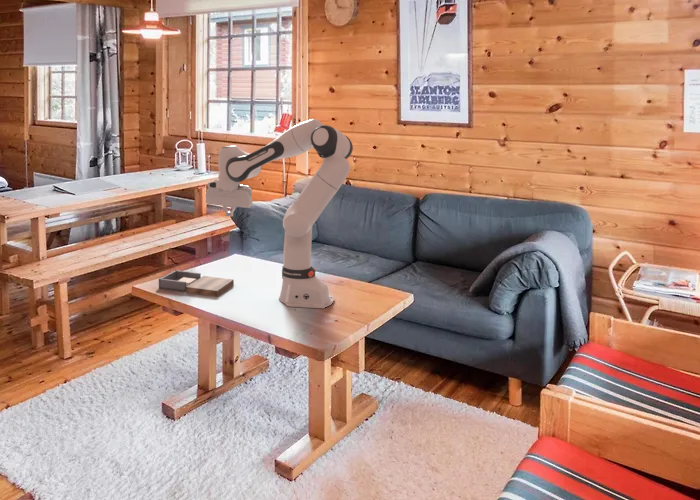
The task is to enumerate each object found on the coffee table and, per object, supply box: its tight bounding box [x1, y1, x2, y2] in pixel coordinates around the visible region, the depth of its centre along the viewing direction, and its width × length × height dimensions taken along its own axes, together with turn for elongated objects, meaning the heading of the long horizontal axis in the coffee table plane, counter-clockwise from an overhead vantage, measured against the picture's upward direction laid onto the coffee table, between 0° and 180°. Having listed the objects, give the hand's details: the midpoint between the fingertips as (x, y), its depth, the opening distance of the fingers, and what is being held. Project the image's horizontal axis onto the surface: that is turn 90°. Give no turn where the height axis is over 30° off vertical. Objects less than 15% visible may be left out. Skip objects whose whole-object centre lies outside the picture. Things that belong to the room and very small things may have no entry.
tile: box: [178, 277, 196, 286], centre depth 271 cm, size 6×6×2 cm
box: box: [158, 269, 202, 293], centre depth 272 cm, size 12×14×4 cm
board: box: [185, 275, 235, 297], centre depth 269 cm, size 14×16×2 cm
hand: (229, 216), depth 273 cm, fingers closed
